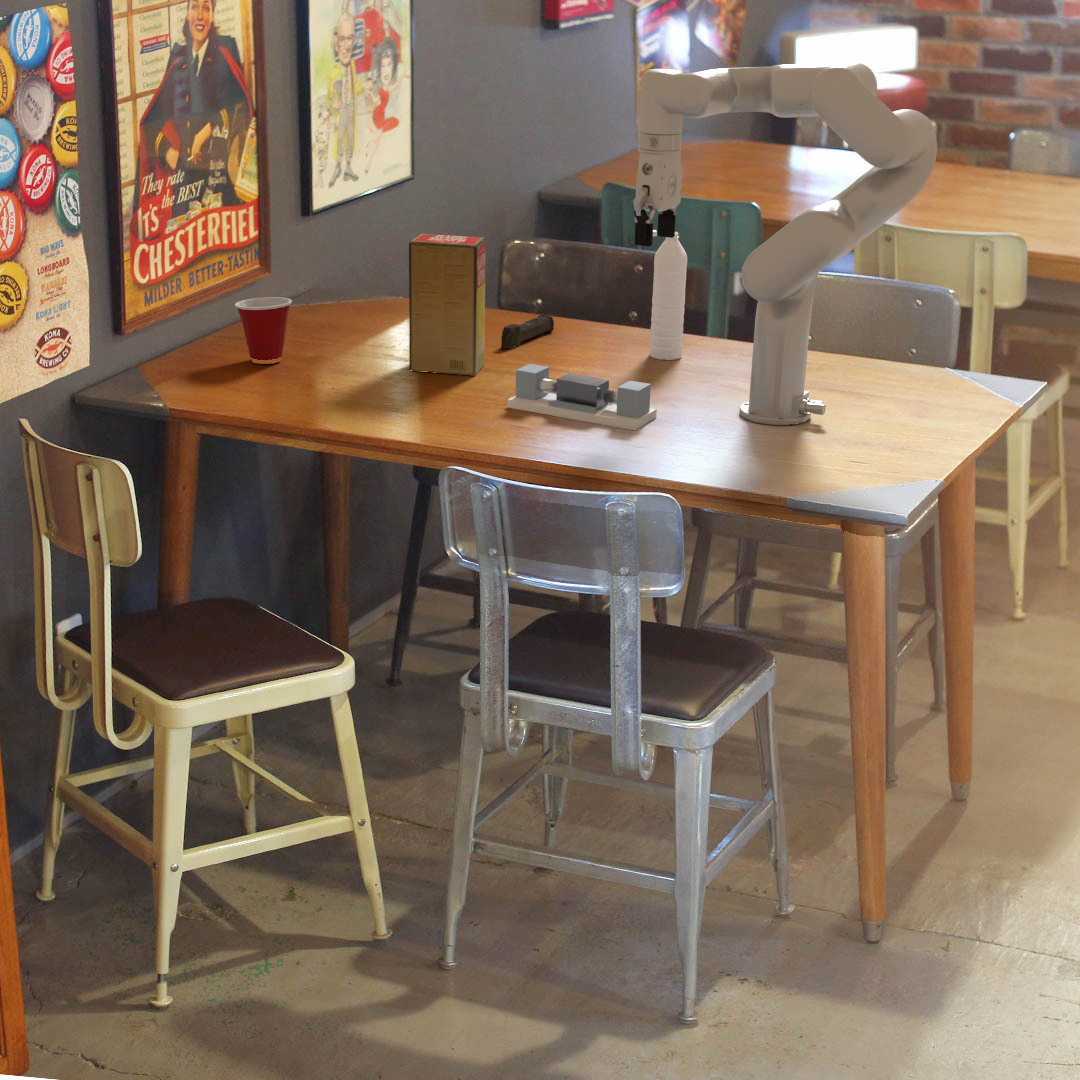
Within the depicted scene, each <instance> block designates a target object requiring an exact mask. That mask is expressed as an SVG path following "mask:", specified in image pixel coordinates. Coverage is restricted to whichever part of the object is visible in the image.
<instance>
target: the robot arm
mask: <svg viewBox="0 0 1080 1080" xmlns="http://www.w3.org/2000/svg"><path fill="white" fill-rule="evenodd" d="M877 82H878V81H877V77H876V75H875V73H874V72H873V71H872V69H871V68H869V66H867V65H865V64H863V63H861V62H856V61H855V62H854V61H841V62H840V61H839V62H838V61H837V62H836V61H835V62H818V63H817V62H816V63H814V62H813V63H794V64H793V63H791V64H790V63H789V64H775V65H771V66H754V67H751V66H749V67H727V68H725V67H723V68H713V69H707V70H702V71H695V72H687V73H683V72H682V71H680V70H678V69H677V70H676V69H672V68H651V69H647V70H645V71H644V72H643V73H642V75H641V80H640V96H639V97H640V98H639V100H640V101H639V114H638V115H639V118H638V119H639V122H638V124H639V125H638V141H637V151H638V152H639V160H638V167H637V173H636V174H637V176H636V184H635V185H636V188H635V198H634V199H633V209H634V211H633V215H634V222H635V226H634V227H635V228H634V245H636V246H641V247H647V248H648V247H652V246H653V241H654V240H653V239H654V237H653V230H654V223H652V220H653V218H654V216H655V212H656V211H657V212H660V213H657V215H658V216H657V230H656V231H657V236H658V237H663V238H666V237H669V238H673V237H674V236H675V232H676V217H677V213H678V208H677V207H678V206H679V205H680V204H681V201H682V161H681V152H682V139H683V138H682V137H683V133H682V132H683V119H684V117H686V118H691V119H702V118H707V117H711V116H714V115H719V114H727V113H751V112H752V113H755V112H756V113H758V112H759V113H767V114H768V113H769V114H772V115H773V116H775V117H778V118H785V119H786V118H814V117H819V118H820V119H821V120H822V121H823V122H824V123H825V124H826V125H827V126H828V127H829V128H830V129H831V130H832V131H833V132H834V133H835V134H836V135H837V136H838V137H839V138H840V139H841V140H842V141H844V142H845V143H846V144H847V145H848V146H849V147H850V148H851V149H852V150H853V151H854V152H855V153H856V154H857V155H859V156H860V157H861V158H862V159H863V160H864V161H865V162H867V163H868V164H870V165H871V166H872V167H871V168H870V169H869V170H867V171H866V172H865V173H863V174H862V175H861V176H859V177H857V179H856V180H855V181H853V182H852V183H851V184H850V185H849V186H847V187H846V188H845V189H844V190H841V192H840V193H838V194H836V195H835V196H834V197H832V198H830V199H829V200H826V201H824V202H822V203H820V204H818V205H815V206H812V207H810V208H808V209H806V210H805V211H803V212H801V213H800V214H798V215H797V216H796V217H794V218H793V219H792V220H791V221H789V222H788V223H787V224H786V225H784V226H783V227H781V228H780V229H779V230H778V231H777V232H776V233H774V234H773V235H771V236H770V237H769V238H768V239H766V240H765V241H764V242H763V243H762V244H759V246H757V248H755V249H754V250H753V251H752V252H751V253H749V255H748V256H747V257H746V259H745V260H744V262H743V263H744V264H743V265H742V269H741V282H742V287H743V288H744V290H745V292H746V293H747V294H748V295H749V296H750V297H751V298H753V299H754V300H756V301H757V305H756V313H755V319H754V321H755V322H754V334H753V345H752V347H753V348H752V360H751V372H750V387H749V395H748V397H749V399H748V401H745V402H743V403H741V404H740V405H739V414H740V416H741V417H743V418H744V419H746V420H748V421H751V422H754V423H759V424H766V425H773V426H791V425H790V424H793V425H797V424H796V423H799V424H801V423H800V422H803V423H805V422H804V421H806V420H808V419H809V418H810V419H811V416H812V414H813V415H817V416H818V415H819V416H824V415H825V413H826V407H827V406H826V404H824V401H822V400H813V399H811V398H810V396H809V395H810V391H809V390H805V383H806V374H807V373H806V372H807V363H808V362H807V360H808V350H809V342H810V341H809V339H810V331H811V322H812V321H811V319H812V310H813V304H814V298H815V293H816V289H817V284H818V278H819V273H820V272H822V271H823V270H824V269H826V268H827V267H828V266H830V265H831V264H832V263H835V262H836V261H837V260H840V259H841V258H843V257H845V256H846V255H848V254H849V253H850V252H852V251H853V250H854V249H855V248H856V247H857V246H858V245H859V244H860V243H862V241H864V240H865V239H866V238H867V237H869V236H870V235H871V234H872V233H874V232H875V231H876V230H878V229H879V228H880V227H882V226H883V225H884V224H885V223H887V221H889V220H890V219H891V218H893V217H894V216H895V215H896V214H897V213H899V212H900V211H901V210H903V209H904V208H905V207H906V206H908V204H909V203H910V204H911V202H912V201H913V200H914V199H915V198H916V196H918V194H920V192H921V190H922V189H924V187H925V185H926V184H927V182H928V181H929V179H930V177H931V175H932V172H933V170H934V168H935V164H936V160H937V155H938V142H937V141H938V140H937V135H936V130H935V128H934V126H933V123H932V121H931V120H930V119H929V118H928V116H926V115H925V114H924V113H923V112H920V111H919V110H914V109H908V108H907V109H905V108H902V109H899V110H894V111H892V110H891V109H890V108H889V107H888V106H887V105H886V104H884V103H883V102H882V101H881V100H880V99H879V98H878V96H877V93H878V83H877ZM647 212H648V213H647ZM810 419H809V420H810ZM809 420H808V421H809ZM806 422H807V421H806Z"/></svg>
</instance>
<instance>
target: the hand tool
mask: <svg viewBox="0 0 1080 1080" xmlns="http://www.w3.org/2000/svg"><path fill="white" fill-rule="evenodd" d="M554 326H555V322H554V318H553V316H552V315H549V314H546V313H541V314H539V315H537V317H536V318H535V317H534V318H532V319H529V320H526V321H525V322H524V323H523V322H522V323H521V324H518V323H517V324H516V323H511V324H507V325H505V326H504V327H503V329H502V331H501V332H502V334H501V340H500V341H501V344H500V345H501V346H500V348H501V350H507V349H506V348H509V349H511V348H510V347H513V348H515V347H514V346H517V347H519V346H518V345H521V344H522V342H524V341H527V340H530V339H531V338H534V337H537V336H539V335H542V334H544V333H552V332H553V331H554V330H555V329H554Z"/></svg>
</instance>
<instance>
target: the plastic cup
mask: <svg viewBox="0 0 1080 1080" xmlns="http://www.w3.org/2000/svg"><path fill="white" fill-rule="evenodd" d="M292 302H293V300H292V299H290V298H288V297H277V296H269V297H266V296H265V297H255V298H249V299H243V300H239V301H237V302H236V303H234V307H235V308H236V309H237V311H238V313H239V314H238V315H239V317H240V319H241V323H242V328H243V332H244V336H245V340H246V346H247V348H248V353H249V358H250V357H251V358H253V359H257V360H269V359H270V360H272V359H277V358H279V357H281V356H282V357H283V355H284V346H285V341H286V333H287V325H288V324H287V323H288V318H289V312H290V308H291V304H293V303H292ZM251 358H250V359H251Z"/></svg>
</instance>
